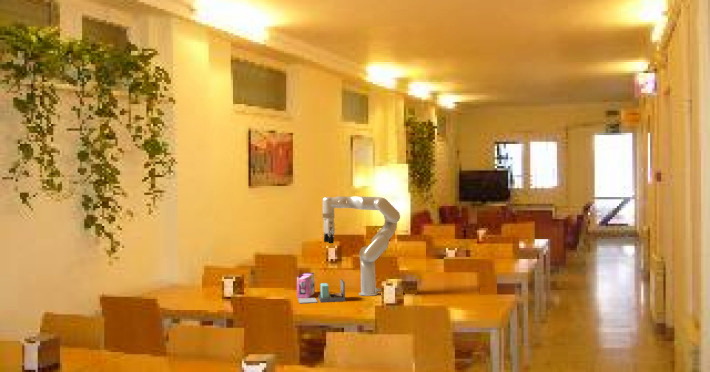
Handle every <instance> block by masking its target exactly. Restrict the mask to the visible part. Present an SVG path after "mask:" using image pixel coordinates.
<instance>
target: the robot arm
mask: <svg viewBox="0 0 710 372" xmlns="http://www.w3.org/2000/svg"><path fill="white" fill-rule="evenodd" d="M336 208H337V209H355V210H361V211H363V210H366V211H367V210H368V211H378V212H380V213H381V214H382V215H383V218H384V223H383V226H382V227H381V228H380V229H379V230H378V231H377V233H376V234H375V235H374V236H373V237H372V238H371V240H370V241H371V243H370V244H369V245H364V246H362V247H361V248H360V250H359V253H358V254H359V265H360V291H359V292H358V295H359V296H366V297H368V296H370V297H372V296H373V297H374V296H377V295H379V292H382V291H381V288H382V287H381V288H380V287H376V264H375V261H376V260H377V259H378V258H379V257H380V256H381V255H382V254H383V253H384V252H385V251H386V250H387V248H388V246H389V243H390V241H389V240H390V239H391V238H392V236H393V235H394V234H395V233H396V231H397V226H398V222H399V221H400V219H401V214H400V212H399V211H398V210H397V209H396V208H395V206H393V205H392V204H391V203H390V202H389V201H388V199H386V198H385V197H380V196H339V195H337V196H335V197H333V196H332V197H331V196H325V197H323V198H322V219H323V242H324V243H328V244H334V241H335V240H334V238H335V235H334V234H335V233H336V231H335V230H336V228H335V209H336Z"/></svg>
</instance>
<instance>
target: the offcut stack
mask: <svg viewBox="0 0 710 372" xmlns="http://www.w3.org/2000/svg"><path fill="white" fill-rule="evenodd" d="M333 294H334V298H336V297H342V295H341V292H336V293H333Z"/></svg>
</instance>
